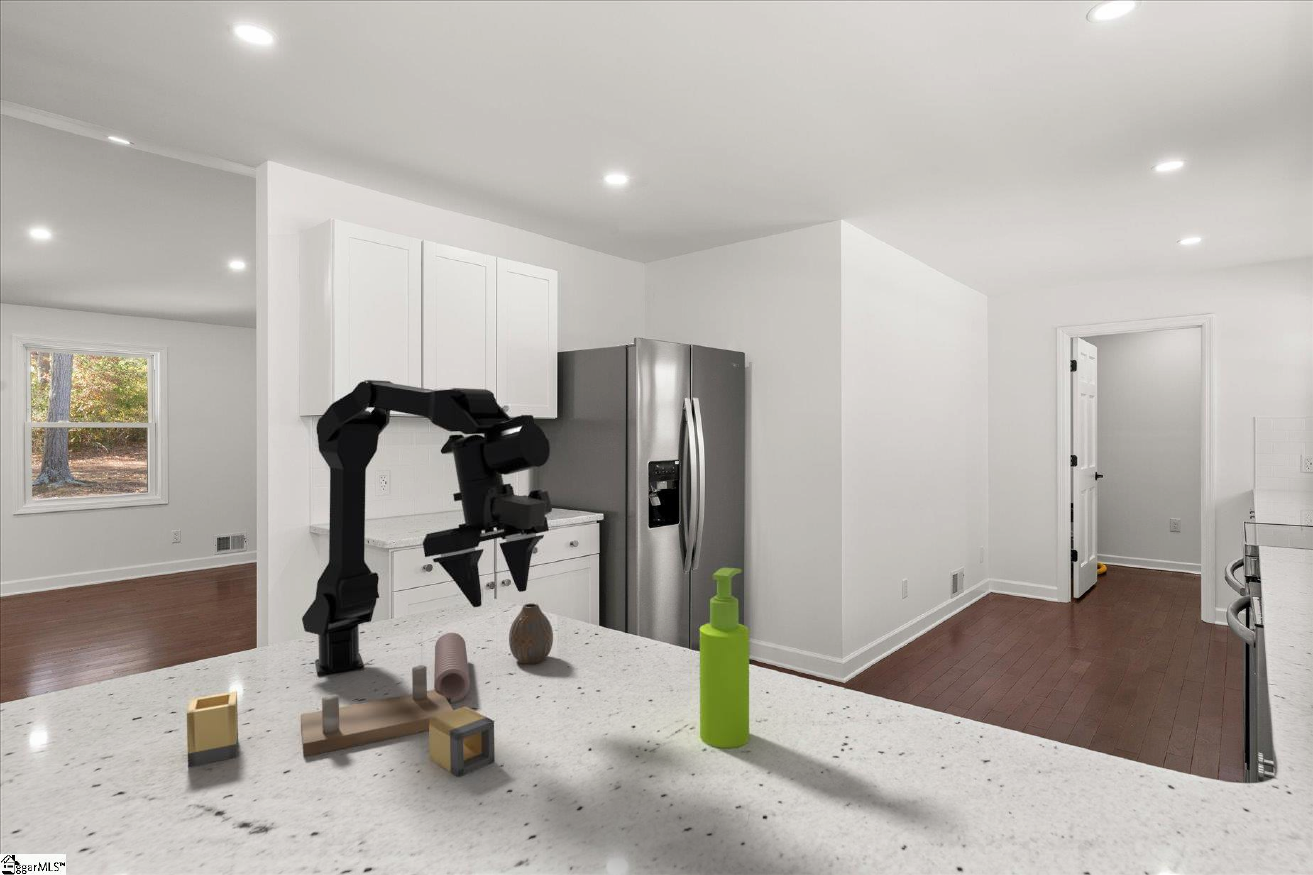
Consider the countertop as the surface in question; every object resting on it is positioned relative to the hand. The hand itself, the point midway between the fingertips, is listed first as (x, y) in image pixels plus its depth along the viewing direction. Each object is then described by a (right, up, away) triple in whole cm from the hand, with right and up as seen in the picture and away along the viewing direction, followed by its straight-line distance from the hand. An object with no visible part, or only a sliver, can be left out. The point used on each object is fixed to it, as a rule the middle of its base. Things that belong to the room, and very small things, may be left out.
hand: (501, 598), depth 91 cm
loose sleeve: (-31, -15, -11) cm, 36 cm away
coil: (-10, -15, +12) cm, 21 cm away
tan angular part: (+1, -13, -15) cm, 20 cm away
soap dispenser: (+29, -15, -7) cm, 33 cm away
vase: (0, -15, +20) cm, 25 cm away
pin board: (-15, -15, -4) cm, 21 cm away
